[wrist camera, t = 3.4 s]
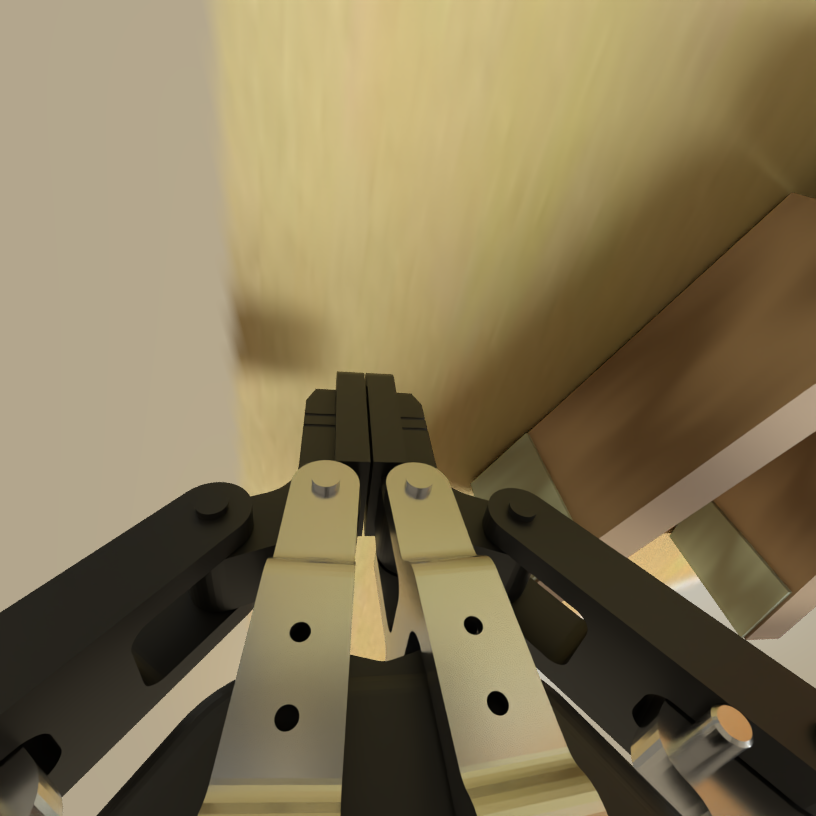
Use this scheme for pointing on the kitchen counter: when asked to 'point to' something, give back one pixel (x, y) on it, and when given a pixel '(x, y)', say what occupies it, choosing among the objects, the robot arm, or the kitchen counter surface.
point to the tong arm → (685, 396)
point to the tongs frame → (759, 545)
